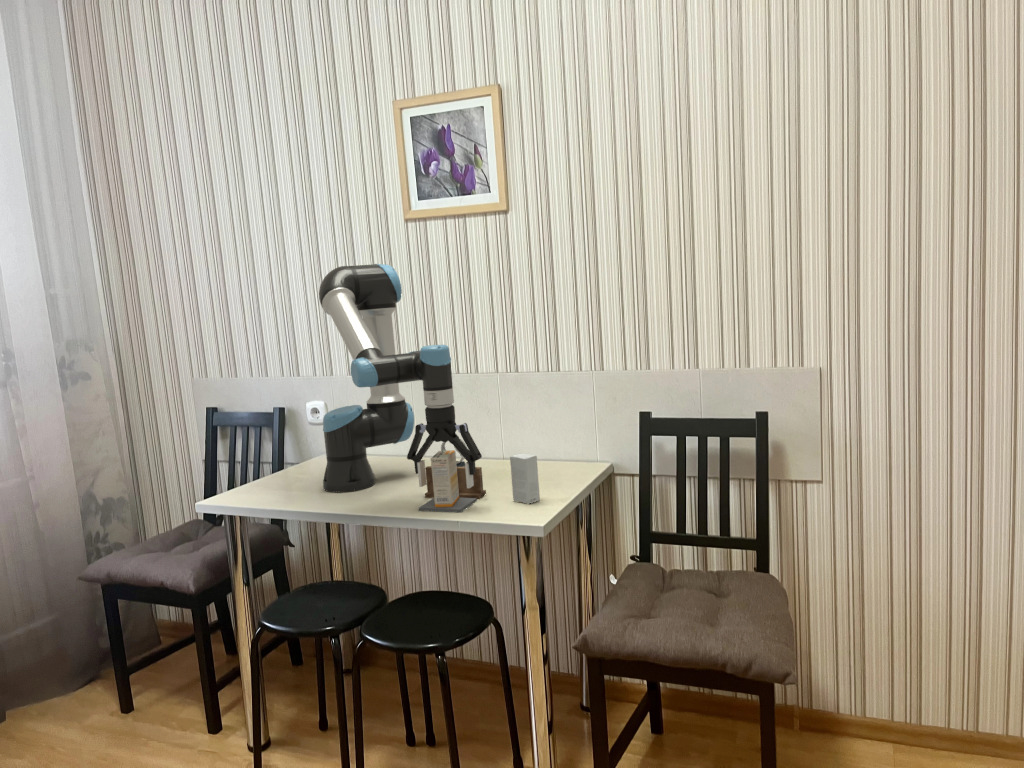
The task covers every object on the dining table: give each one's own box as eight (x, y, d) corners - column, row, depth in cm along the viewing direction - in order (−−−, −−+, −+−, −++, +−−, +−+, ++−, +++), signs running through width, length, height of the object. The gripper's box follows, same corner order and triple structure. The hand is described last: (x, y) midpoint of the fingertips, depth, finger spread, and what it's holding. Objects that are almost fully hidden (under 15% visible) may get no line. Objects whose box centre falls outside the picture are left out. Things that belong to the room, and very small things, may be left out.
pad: (418, 510, 197) (418, 507, 197) (435, 499, 206) (435, 496, 206) (461, 512, 192) (460, 509, 192) (476, 501, 202) (476, 498, 202)
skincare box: (540, 500, 198) (537, 455, 196) (529, 504, 195) (525, 458, 193) (524, 497, 202) (520, 452, 201) (512, 501, 199) (509, 456, 198)
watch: (463, 475, 230) (460, 440, 229) (439, 475, 233) (436, 439, 232) (471, 471, 235) (468, 436, 234) (448, 470, 238) (445, 436, 237)
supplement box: (442, 498, 204) (438, 450, 202) (459, 498, 203) (455, 449, 201) (434, 507, 196) (429, 457, 194) (452, 507, 195) (448, 456, 193)
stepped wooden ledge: (425, 497, 209) (422, 469, 208) (433, 492, 213) (430, 464, 212) (479, 499, 203) (476, 470, 202) (486, 494, 208) (483, 465, 207)
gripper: (389, 408, 197) (396, 488, 199) (478, 407, 188) (485, 491, 191) (403, 403, 204) (410, 481, 206) (490, 402, 195) (496, 483, 197)
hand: (446, 486), depth 198 cm, fingers open, 13 cm apart
